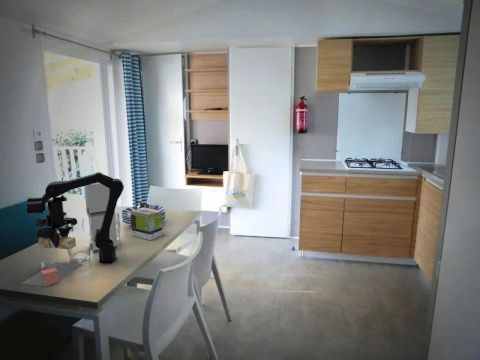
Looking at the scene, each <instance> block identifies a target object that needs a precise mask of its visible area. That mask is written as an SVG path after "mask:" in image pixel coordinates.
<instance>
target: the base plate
mask: <svg viewBox="0 0 480 360" xmlns="http://www.w3.org/2000/svg"><path fill="white" fill-rule="evenodd" d="M82 266H83V264H81V263H70V262H58V261H57V262H53V263H51V265H49V266H46V270H47V269H51V268H54V267H55V268H56V270H57V272H58V281H59V282H61V281H62V280H63V279H64V278H67V277H68V276H69V275H70V274H72V273H74V272H75V271H76V270H77V269H79V268H80V267H82ZM41 271H42V270H41ZM41 271H39V272H37V273H36V274H34V275H32V276H31V277H30V278H27V279H26V280H24V281H23V282H21V284H24V285H32V286H34V285H35V286H44V279H43V274H42V273H41ZM55 285H56V284H52V285H49V286H48V287H53V286H55ZM44 287H45V286H44Z"/></svg>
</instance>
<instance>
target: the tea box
mask: <svg viewBox="0 0 480 360" xmlns="http://www.w3.org/2000/svg"><path fill="white" fill-rule="evenodd" d="M162 212H163V211H162V210H161V209H160V210H159V209H154V208H149V207H141V208H136V209H133V210H130V222H131V223H130V224H131V225H130V226H131V236H133V237H136V238H140V239H144V240H148V241H153V240H155V239H158V238H160V237H162V236H164V235H163V216H162V214H163V213H162Z"/></svg>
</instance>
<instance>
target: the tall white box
mask: <svg viewBox="0 0 480 360" xmlns="http://www.w3.org/2000/svg"><path fill="white" fill-rule="evenodd" d="M83 187H84V200H85V207H86V215H87V217H88V218H89V219H90V220H89V221H90V232H91V241H92V243H91V248H90V250H91V251H92V253H93V254H97V253H98V254H99V252H100V249H99V248H97V247H96V245H95V242H94V236H95V234H96V229H98V230H99V229H100V228H101V226H102V222H103V218H104V214H105V210H106V207H107V203H108V199H109V188H108V187H106V186H104V185H102V184H101V183H99V182H97V183H94V184H90V185H86V186H83ZM116 222H117V221H116V210H115V211H114V215H113V219H112V223H111V226H110V235H109V239H111V240H112V241H113V243H114V248H115V250H116V251H117V250H118V248H119V247H118V234H117V223H116Z"/></svg>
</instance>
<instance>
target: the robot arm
mask: <svg viewBox="0 0 480 360" xmlns="http://www.w3.org/2000/svg"><path fill="white" fill-rule="evenodd" d="M97 182H99V183H101V184H102V185H104V186H106V187H108V188H109V199H108V203H107V207H106V210H105V214H104V218H103V222H102V226H101V228H100V229H99V230H98V229H96V234H95V236H94V242H95V245H96V247H97V248H99V249H100V252H98V258H99V264H107V265H112V264H113V263H114V262H116V261H117V260H118V259H119V257H117V252H116V251H117V250H115V248H114V243H113V241H112V240H111V239H109V235H110V226H111V223H112V219H113V215H114V211H115V212H116V207H117V203H118V200H119V198H120V197H121V195H122V193H123V191H124V188H125V187H124V186H125V185H124V183H123V181H122V180H121V179H120V178H113V177H111V176H108V175H106V174H103V173H102V172H99V171H97V172H95V173H92V174H88V175H85V176H81V177H78V178H74V179H70V180H59V181H51V182H49V183H47V186H46V187H45V189H44V192H45V193H44V194H43V195H42V196H41V197H27V198H26V201H27V202H26V212H27V215H36V214H37V215H38V214H44V213H45V211H47V210H48V214H46V216H45V218H42V217H40V218H37V219H35V220H34V225H35V227H36V228H39V229H38V230H37V231H36V232H35V234H36V238H41V237H42V238H50V240H51V241H52V243H53V245H54V247H55V248H54V249H58V244H59V237H60V236H63V237H68V234H69V235H70V232H71V230H72V229H73V226H76V225H78V220H77V218H76V217H67V218H64V216H65V215H66V213H64V211H63V210H64V203H63V202H67V200H68V197H66V196H65V195H64V194H66V193H67V192H69V191H72V190H76V189H79V188H82V187H84V186H86V185H90V184H94V183H97ZM70 224H71V226H70ZM57 230H58V231H59V232H60V233H57Z"/></svg>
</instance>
